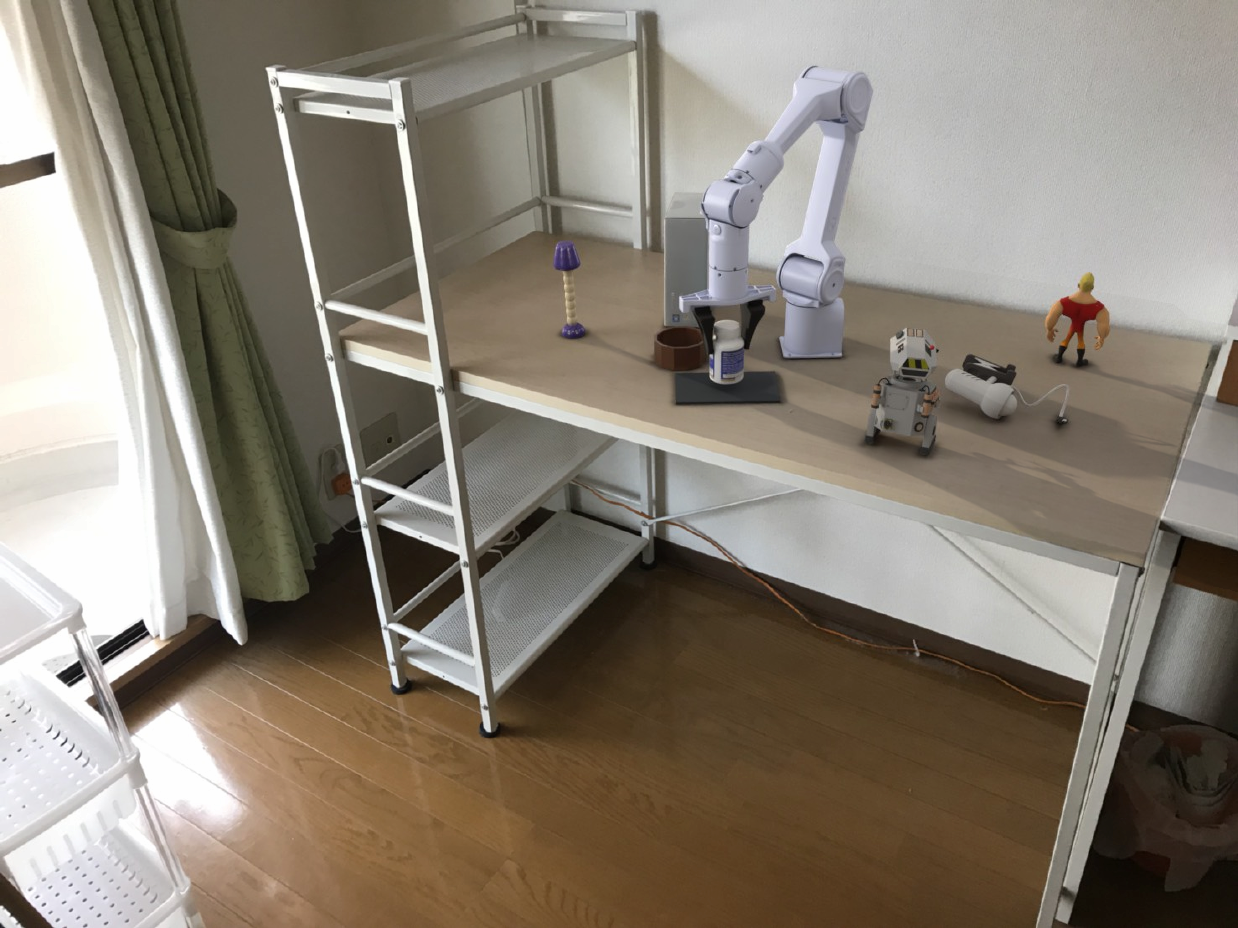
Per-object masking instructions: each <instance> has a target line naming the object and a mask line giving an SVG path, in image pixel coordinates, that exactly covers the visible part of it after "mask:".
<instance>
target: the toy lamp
mask: <svg viewBox="0 0 1238 928" xmlns="http://www.w3.org/2000/svg"><path fill="white" fill-rule="evenodd" d="M580 266H581V260H580V257H579V254H578V252H577V248H576V246H575V243H574V242H573V241H571V240H562V241H559V242H557V243H556V245H555V250H554V255H553V262H552V267H553V268H554V270H556V271H560V272H562V274H563V278H562V279H563V283H564V285H563V289H564V291H565V292H564V298H565V308H566V315H567V317H566V322H567V323H565V324H564V325H563V327H562V329H561V336H562V337H564V338H566V339H578V338H581V337H583V336H585V335H586V329H585V327H584V326H583V324H581V323H580V322H578V317H577V311H578V310H577V308H576V307H577V302H576V292H575V283H574V281H575V277H574V275H573V274H574V270H577V269H578V268H580Z"/></svg>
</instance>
